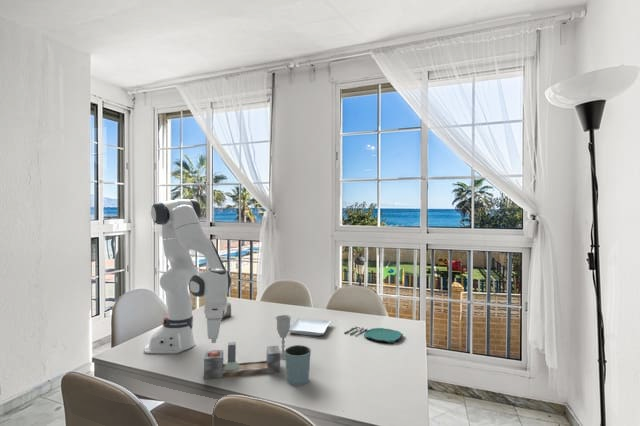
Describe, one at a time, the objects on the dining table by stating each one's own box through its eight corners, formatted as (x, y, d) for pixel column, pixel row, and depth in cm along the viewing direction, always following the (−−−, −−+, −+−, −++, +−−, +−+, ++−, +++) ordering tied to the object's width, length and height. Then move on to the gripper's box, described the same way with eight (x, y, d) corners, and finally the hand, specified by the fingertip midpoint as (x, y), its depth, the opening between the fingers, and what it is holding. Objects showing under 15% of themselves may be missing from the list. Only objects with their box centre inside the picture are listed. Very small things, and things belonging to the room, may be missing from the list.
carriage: (225, 371, 139) (225, 346, 139) (225, 365, 144) (225, 341, 144) (237, 370, 140) (238, 345, 140) (237, 364, 145) (238, 340, 145)
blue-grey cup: (310, 374, 141) (310, 345, 141) (310, 386, 131) (310, 355, 131) (285, 374, 141) (285, 345, 141) (283, 386, 131) (284, 355, 130)
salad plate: (285, 335, 186) (285, 328, 186) (297, 322, 207) (297, 317, 207) (323, 339, 181) (323, 332, 181) (332, 326, 202) (332, 320, 202)
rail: (203, 379, 135) (204, 358, 135) (205, 370, 143) (206, 350, 143) (280, 372, 142) (280, 353, 142) (277, 363, 150) (278, 345, 150)
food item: (217, 321, 206) (217, 305, 206) (207, 319, 209) (207, 303, 209) (232, 315, 218) (232, 300, 218) (222, 314, 221) (223, 298, 221)
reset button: (208, 365, 138) (209, 355, 138) (209, 361, 141) (209, 351, 141) (218, 364, 139) (218, 354, 139) (218, 360, 142) (218, 350, 142)
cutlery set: (394, 347, 171) (394, 342, 171) (341, 336, 187) (341, 331, 187) (407, 336, 187) (407, 331, 187) (358, 326, 204) (358, 322, 204)
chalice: (283, 352, 162) (284, 314, 162) (293, 356, 158) (294, 317, 158) (271, 357, 157) (272, 317, 157) (282, 361, 152) (283, 320, 152)
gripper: (209, 301, 150) (208, 332, 150) (205, 315, 130) (203, 352, 130) (224, 300, 151) (223, 332, 152) (222, 315, 131) (220, 351, 132)
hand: (213, 341), depth 141 cm, fingers closed
